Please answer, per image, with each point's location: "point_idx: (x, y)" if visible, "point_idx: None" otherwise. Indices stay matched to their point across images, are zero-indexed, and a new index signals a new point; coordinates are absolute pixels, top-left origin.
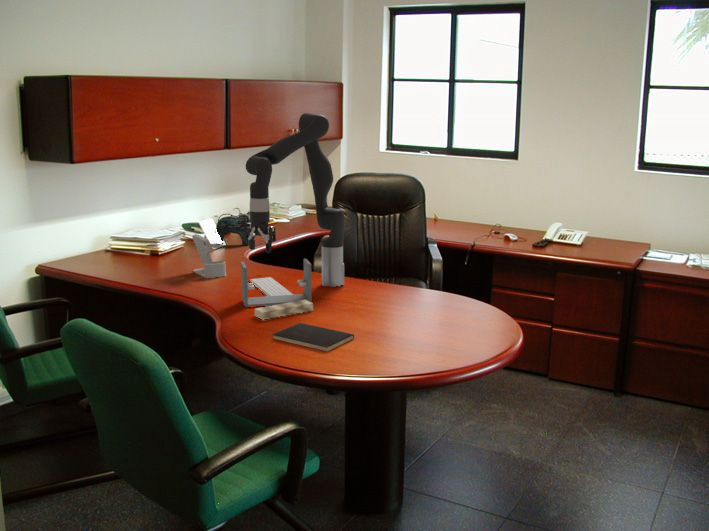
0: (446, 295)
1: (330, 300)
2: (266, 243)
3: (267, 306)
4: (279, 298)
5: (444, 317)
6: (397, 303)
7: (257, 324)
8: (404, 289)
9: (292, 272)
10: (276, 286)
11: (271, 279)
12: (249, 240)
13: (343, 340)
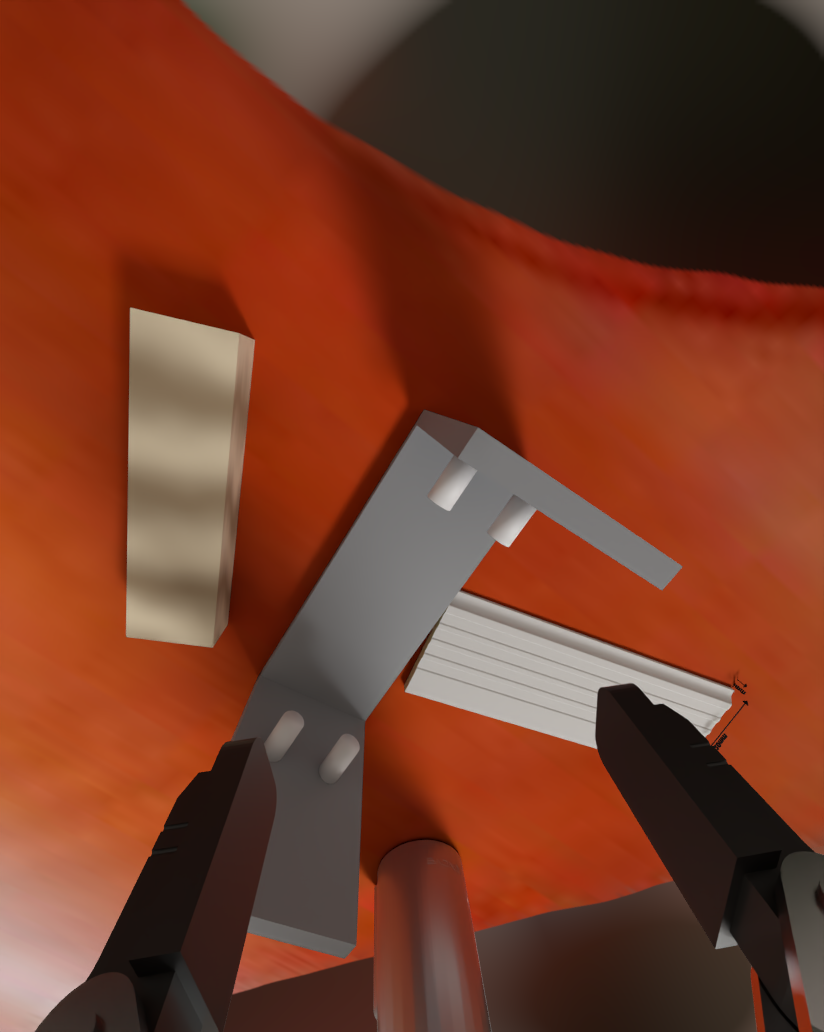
0: (24, 1027)
1: None
2: (159, 960)
3: (228, 423)
4: (387, 607)
5: None
6: (32, 887)
7: (107, 240)
8: None
9: (661, 860)
10: (557, 713)
11: None
12: (799, 855)
13: None
